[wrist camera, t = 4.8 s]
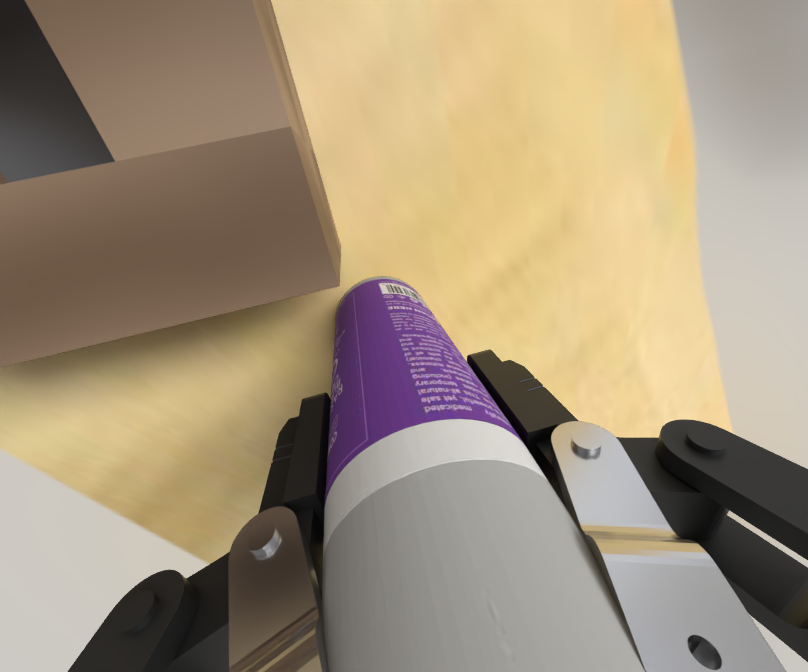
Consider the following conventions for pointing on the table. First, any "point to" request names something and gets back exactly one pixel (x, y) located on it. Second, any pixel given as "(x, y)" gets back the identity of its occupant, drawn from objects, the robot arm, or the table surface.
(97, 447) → the table surface
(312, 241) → the well block
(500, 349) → the table surface
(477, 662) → the container
